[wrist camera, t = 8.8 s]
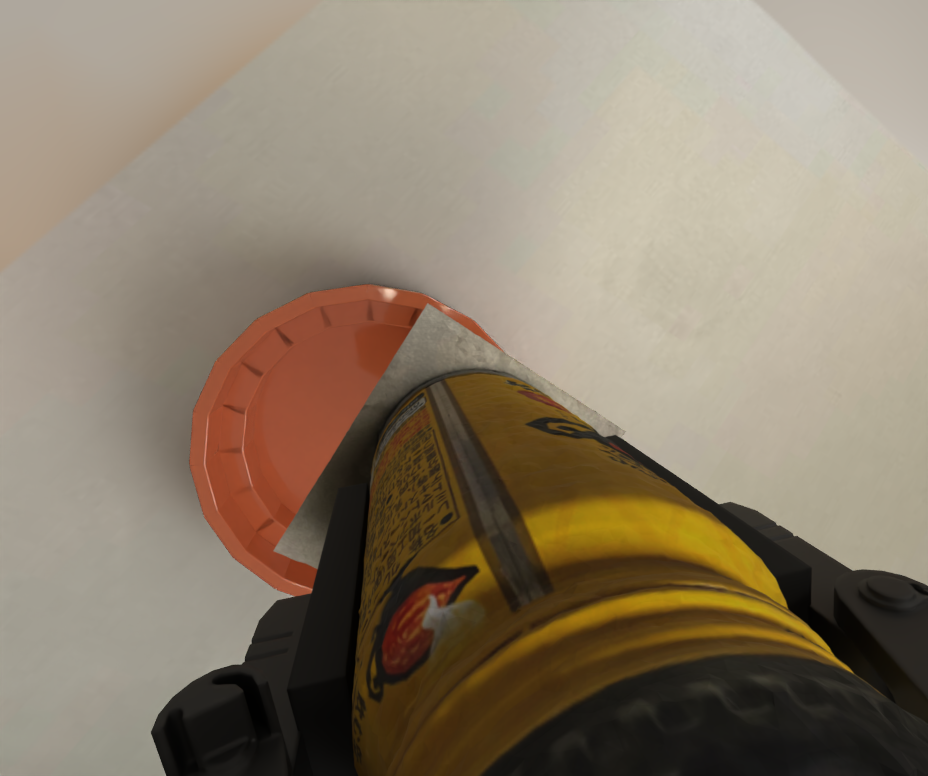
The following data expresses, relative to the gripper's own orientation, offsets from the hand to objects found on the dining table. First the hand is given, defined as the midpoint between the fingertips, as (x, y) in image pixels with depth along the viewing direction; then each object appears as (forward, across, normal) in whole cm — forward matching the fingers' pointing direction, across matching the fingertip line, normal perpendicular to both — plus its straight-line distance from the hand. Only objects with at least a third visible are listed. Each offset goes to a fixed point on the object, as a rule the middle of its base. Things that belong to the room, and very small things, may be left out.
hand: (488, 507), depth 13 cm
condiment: (+2, -1, 0) cm, 2 cm away
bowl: (+19, -4, -3) cm, 20 cm away
